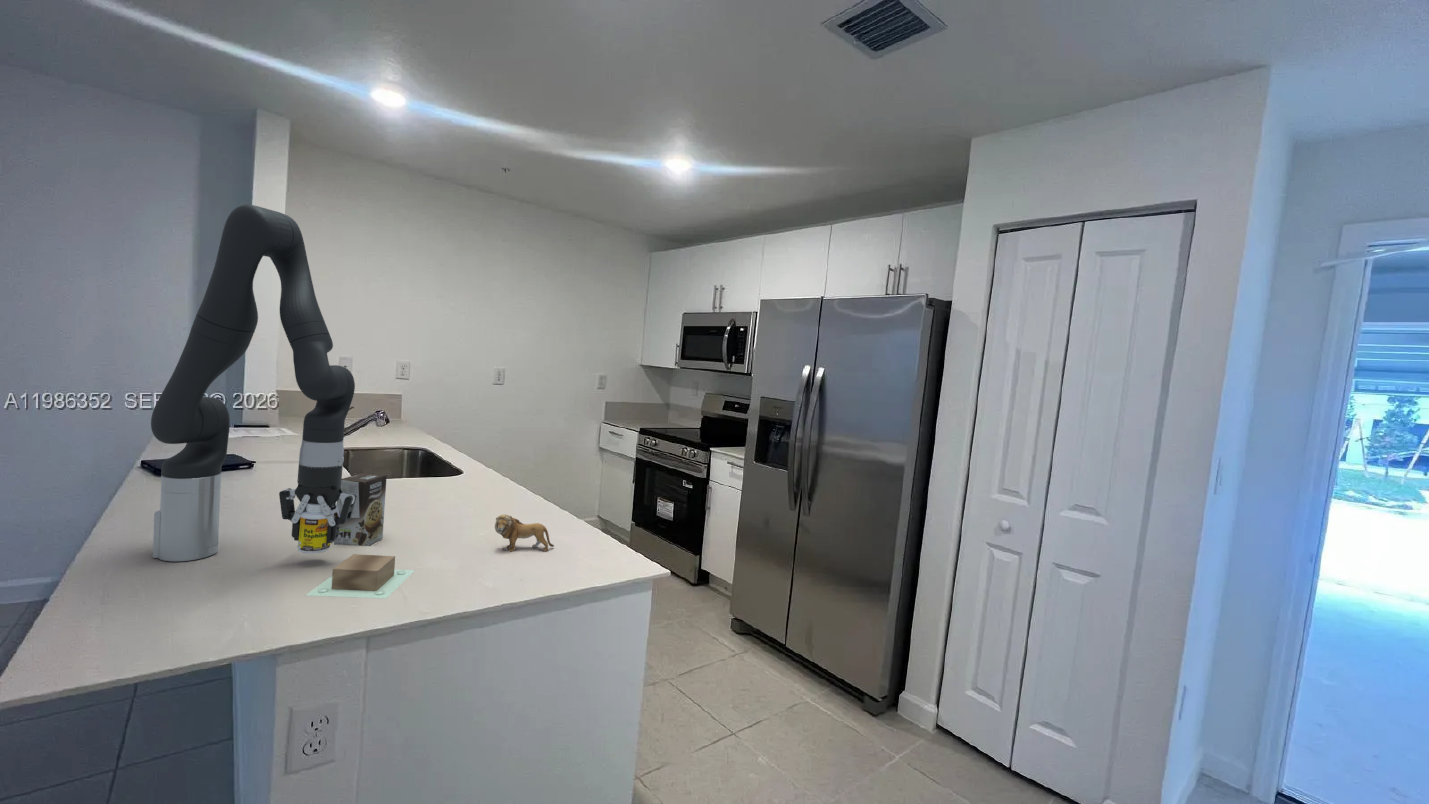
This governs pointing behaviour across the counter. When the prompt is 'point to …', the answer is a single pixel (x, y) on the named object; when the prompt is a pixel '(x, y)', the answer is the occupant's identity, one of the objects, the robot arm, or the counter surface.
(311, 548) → the supplement bottle
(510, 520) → the lion figurine
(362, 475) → the coffee box
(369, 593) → the plate
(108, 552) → the counter surface
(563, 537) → the counter surface
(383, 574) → the walnut block
